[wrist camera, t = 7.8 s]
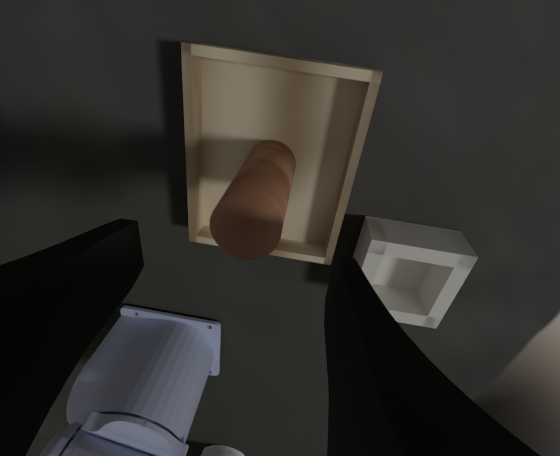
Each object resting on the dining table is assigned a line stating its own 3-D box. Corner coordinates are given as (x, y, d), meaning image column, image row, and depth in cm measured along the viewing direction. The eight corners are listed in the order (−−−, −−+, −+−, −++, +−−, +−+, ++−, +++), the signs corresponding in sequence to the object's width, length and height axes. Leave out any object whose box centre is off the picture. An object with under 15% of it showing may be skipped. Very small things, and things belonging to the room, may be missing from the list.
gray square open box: (343, 284, 24) (346, 312, 22) (365, 215, 21) (371, 239, 19) (424, 298, 24) (436, 328, 22) (459, 231, 21) (478, 257, 18)
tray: (198, 226, 23) (189, 240, 21) (195, 42, 17) (180, 42, 15) (330, 248, 23) (330, 265, 21) (377, 69, 16) (383, 72, 15)
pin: (247, 182, 20) (210, 254, 14) (249, 137, 19) (207, 192, 12) (293, 188, 20) (278, 263, 13) (298, 142, 19) (284, 202, 12)
